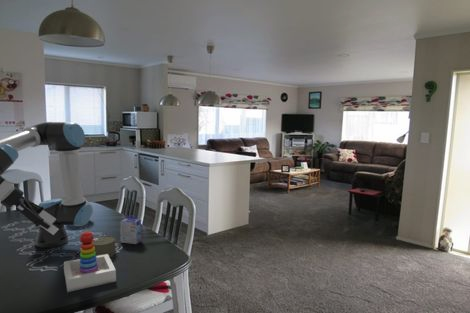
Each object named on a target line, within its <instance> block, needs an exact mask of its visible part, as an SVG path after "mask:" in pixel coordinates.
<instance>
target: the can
mask: <svg viewBox="0 0 470 313" xmlns="http://www.w3.org/2000/svg"><path fill="white" fill-rule="evenodd" d="M92 242H93V243H94V247H95V252H96V254H95V255H96V256H99V255H105V254H108V255H109V257H112V256H114V255H115V253H116V238H115V237H114V236H110V235H102V236H97V237H93V240H92Z"/></svg>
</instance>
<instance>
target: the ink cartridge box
mask: <svg viewBox="0 0 470 313" xmlns="http://www.w3.org/2000/svg"><path fill="white" fill-rule="evenodd" d="M141 242H142V220H141V219H137V218H136V215H134V214H133V215H131V214H129V215H128V218H124V219H122V220H120V244H121V243H124V244H133V245H137V244H139V243H141Z"/></svg>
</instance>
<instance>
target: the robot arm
mask: <svg viewBox="0 0 470 313" xmlns="http://www.w3.org/2000/svg"><path fill="white" fill-rule="evenodd" d="M85 135H86V133H85V131H84V129H83V127H82V126H81V125H80V124H78V123H76V122H70V121H68V122H67V121H66V122H65V121H60V122H58V121H55V122H54V121H46V122H41V123H38V124H34V125H31V126H29V127H25V128H24V129H23V130H22V131H21V132H17V133H14V134H11V135H7V136H5V137H2V138H0V204H1V205H2V206H4V207H5V208H7V209H10V208H12V207H13V206H15V207H16V208H15V210H16V211H18V212H20V214H22V215H23V216H24V217H25V218H26V219H28V220H29V221H30V222H32V223H33V224H34V226H35V227H36V228H38V233H37V235H36V240H35V246H36V247H38V248H42V249H44V248H46V249H47V248H55V247H60V246H62V245H65V244H67V243H68V242H69V235H68V232H67V231H66V228H65V226H72V227H83V226H85V225H87V224H88V222H90V220H91V217H92V216H91V214H92V207H93V206H92V207H91V205H90V204H86V200H87V199H86V197H84V195H83V190H82V179H81V171H80V160H79V152H80V150H82V149H81V146H83V145H84V144H85V139H86V136H85ZM39 146H54V151H55V152H56V153H58V158H59V159H58V160H59V167H60V175H61V182H62V184H61V185H62V190H63V198H53V199H48V200H43V201H41V202H39V204H36V203H35V202H32V201H31V200H29V199H28V198H26V197H24V194H25V193H24V191H23V190H21V189H20V188H18V186H17V187H15V185H14V184H13V183H12V182H10V181H9V180H7V179H6V178H4V177H3V176H2V175H3V174H4V173H5V172H6V171H7V170H8V169H9V168H10V167H11V166H12V165H13V164H14V163H15V162H16V160H17V159H18V158H19V151H22V150H24V149H27V148H36V147H39ZM92 215H93V214H92Z"/></svg>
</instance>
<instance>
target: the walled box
mask: <svg viewBox="0 0 470 313" xmlns="http://www.w3.org/2000/svg"><path fill="white" fill-rule="evenodd" d="M96 257H97V258H96V259H97V264H98V265H99V267H98V268H99V271H97V272H92V273H87V274H83V275H79V271H80V270H79V268H80V266H79V263H80V258H79V259H73V260H67V261H63V275H64V279H65V281H64V282H65V287H66V292H67V293H70V292H75V291H79V290H85V289H87V288H92V287H96V286H101V285H105V284H106V285H107V284H110V283H115V282H117V270H116V267H115V266H114V264H113V262H112V259H111V258H110V257H111V256H110V257H109V255H108V254H105V255H99V256H96Z"/></svg>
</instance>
